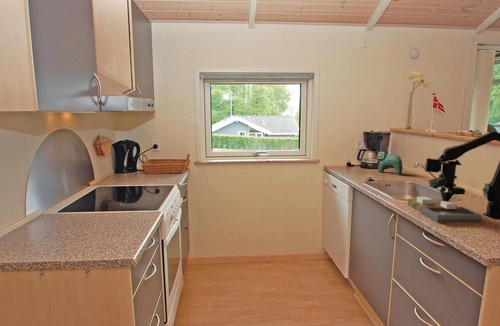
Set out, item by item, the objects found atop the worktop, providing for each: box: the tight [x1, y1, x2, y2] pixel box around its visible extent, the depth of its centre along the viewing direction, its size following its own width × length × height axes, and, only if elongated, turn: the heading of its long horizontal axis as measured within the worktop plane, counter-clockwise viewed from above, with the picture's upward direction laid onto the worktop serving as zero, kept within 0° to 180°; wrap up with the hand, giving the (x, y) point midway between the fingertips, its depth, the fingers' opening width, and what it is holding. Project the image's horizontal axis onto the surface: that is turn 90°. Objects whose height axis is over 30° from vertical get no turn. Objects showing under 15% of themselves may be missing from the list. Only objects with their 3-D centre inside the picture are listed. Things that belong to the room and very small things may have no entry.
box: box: [420, 206, 483, 224], centre depth 148 cm, size 13×20×4 cm, turn 92°
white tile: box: [441, 200, 458, 209], centre depth 154 cm, size 5×5×2 cm
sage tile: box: [416, 196, 433, 204], centre depth 162 cm, size 5×5×2 cm
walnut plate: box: [407, 199, 460, 213], centre depth 162 cm, size 14×18×3 cm
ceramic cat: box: [376, 148, 403, 176], centre depth 254 cm, size 20×6×20 cm, turn 40°
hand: (444, 203), depth 158 cm, fingers closed
